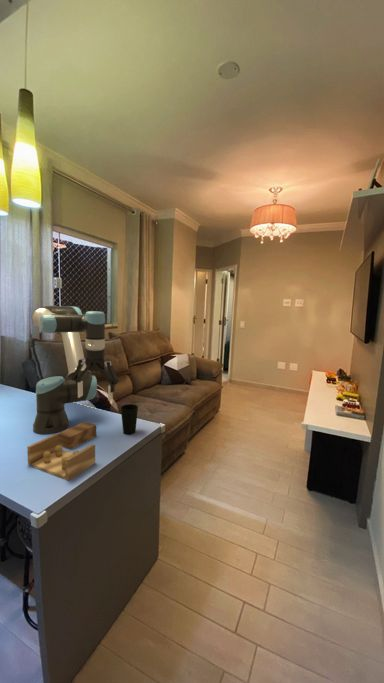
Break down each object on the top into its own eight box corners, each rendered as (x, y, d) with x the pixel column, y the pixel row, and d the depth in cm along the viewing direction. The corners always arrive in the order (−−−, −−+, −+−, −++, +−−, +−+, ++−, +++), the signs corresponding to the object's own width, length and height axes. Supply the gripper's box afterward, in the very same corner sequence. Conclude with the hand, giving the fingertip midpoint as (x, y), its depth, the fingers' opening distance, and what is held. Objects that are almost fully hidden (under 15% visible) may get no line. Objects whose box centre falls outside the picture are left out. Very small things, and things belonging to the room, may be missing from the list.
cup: (133, 436, 126) (133, 410, 125) (117, 434, 128) (117, 409, 126) (140, 429, 134) (140, 405, 132) (125, 427, 135) (125, 403, 134)
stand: (28, 465, 102) (27, 446, 101) (56, 450, 113) (55, 433, 112) (68, 480, 93) (68, 460, 93) (95, 463, 104) (94, 444, 103)
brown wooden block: (70, 450, 113) (70, 437, 113) (58, 446, 116) (57, 433, 116) (96, 436, 126) (96, 424, 125) (84, 433, 129) (84, 421, 128)
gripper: (62, 348, 116) (62, 398, 119) (120, 352, 112) (119, 404, 115) (72, 345, 123) (73, 392, 126) (127, 349, 120) (126, 397, 123)
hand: (95, 398), depth 121 cm, fingers open, 13 cm apart
